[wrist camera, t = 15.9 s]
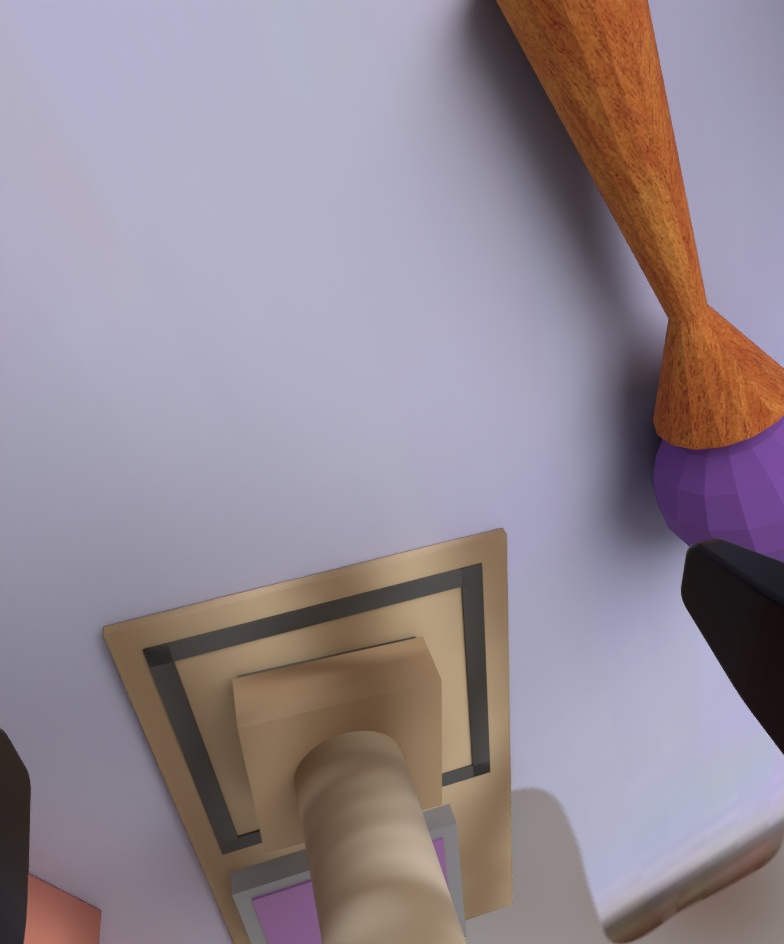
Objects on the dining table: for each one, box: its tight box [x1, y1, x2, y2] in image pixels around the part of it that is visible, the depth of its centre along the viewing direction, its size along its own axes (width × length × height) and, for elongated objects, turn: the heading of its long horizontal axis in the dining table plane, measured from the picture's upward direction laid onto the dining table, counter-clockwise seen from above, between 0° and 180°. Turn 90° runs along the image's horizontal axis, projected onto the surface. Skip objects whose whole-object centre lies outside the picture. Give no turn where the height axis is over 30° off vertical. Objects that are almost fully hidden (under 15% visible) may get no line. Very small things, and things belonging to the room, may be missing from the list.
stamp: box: [232, 636, 466, 944], centre depth 22 cm, size 7×7×15 cm
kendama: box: [496, 0, 784, 562], centre depth 21 cm, size 6×6×20 cm
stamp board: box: [103, 528, 513, 944], centre depth 31 cm, size 14×25×1 cm, turn 6°
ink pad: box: [230, 804, 466, 944], centre depth 34 cm, size 10×10×1 cm
